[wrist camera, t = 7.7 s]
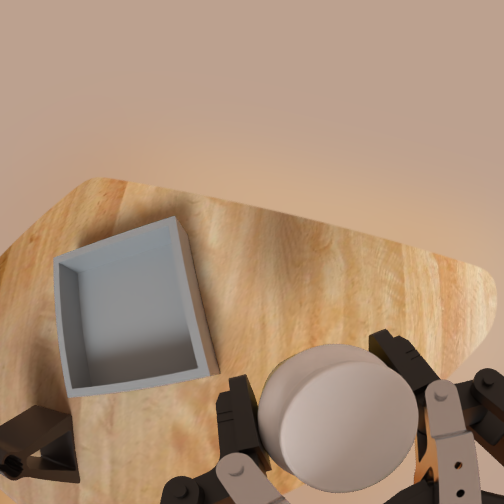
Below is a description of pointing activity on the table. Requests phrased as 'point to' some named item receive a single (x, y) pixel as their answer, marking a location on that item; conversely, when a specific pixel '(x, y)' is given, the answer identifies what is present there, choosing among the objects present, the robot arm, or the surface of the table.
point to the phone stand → (39, 446)
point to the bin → (131, 313)
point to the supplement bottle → (337, 418)
